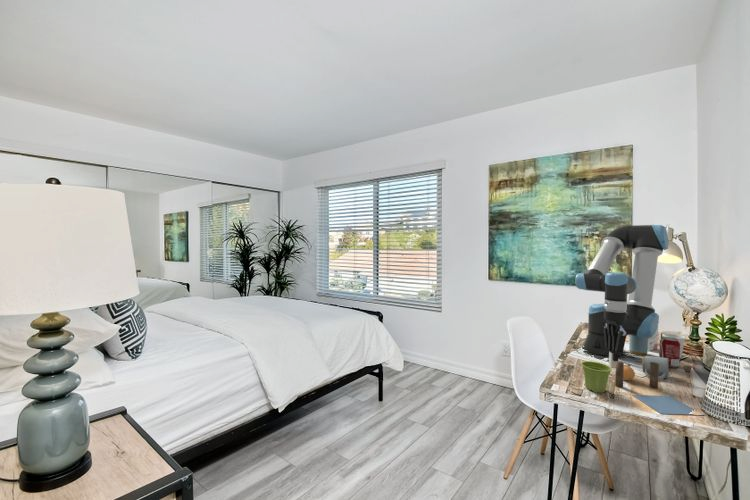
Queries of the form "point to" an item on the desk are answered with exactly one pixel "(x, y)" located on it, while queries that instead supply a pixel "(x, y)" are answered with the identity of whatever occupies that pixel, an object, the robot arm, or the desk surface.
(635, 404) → the desk surface
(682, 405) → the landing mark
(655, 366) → the post
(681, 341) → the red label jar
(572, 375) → the desk surface
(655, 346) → the ink cartridge box
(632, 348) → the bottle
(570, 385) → the desk surface
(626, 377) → the orange round fruit
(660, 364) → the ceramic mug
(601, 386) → the plant pot
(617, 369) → the post
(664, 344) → the red labelled jar
